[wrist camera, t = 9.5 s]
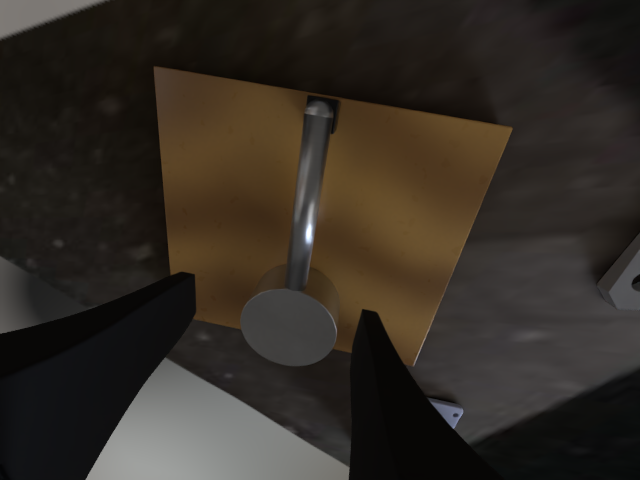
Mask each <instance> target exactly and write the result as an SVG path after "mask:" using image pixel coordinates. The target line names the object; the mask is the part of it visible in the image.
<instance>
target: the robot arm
mask: <svg viewBox="0 0 640 480" xmlns="http://www.w3.org/2000/svg"><path fill="white" fill-rule="evenodd" d="M195 314H196V287H195V274H192V273H187V272H182V271H181V272H178V273H176V274H173V275H171V276H169V277H166V278H164V279H162V280H160V281H157V282H155V283H153V284H151V285H148V286H146V287H144V288H142V289H139V290H137V291H135V292H133V293H130V294H128V295H125V296H123V297H120V298H118V299H115V300H113V301H110V302H108V303H106V304H103V305H100V306H98V307H95V308H92V309H89V310H86V311H83V312H81V313H77V314H74V315H71V316H68V317H65V318H62V319H57V320H54V321H50V322H47V323H43V324H39V325H36V326H32V327H28V328H24V329H20V330H15V331H11V332H7V333H2V334H0V480H85V479H86V478H87V476H88V474H89V472H90V470H91V469H92V467H93V465H94V463H95V462H96V460H97V458H98V457H99V455H100V453H101V451H102V450H103V448H104V446H105V445H106V443H107V441H108V440H109V438H110V436H111V434H112V433H113V431H114V430H115V428H116V427H117V425H118V423H119V421H120V420H121V418H122V416H123V415H124V413H125V412H126V410H127V409H128V407H129V406H130V404H131V403H132V401H133V400H134V398H135V397H136V395H137V394H138V392H139V390H140V389H141V388H142V386H143V384H144V383H145V382H146V381H147V379H148V378H149V377H150V376H151V374H152V373H153V372H154V370H155V369H156V368H157V367H158V365H159V364H160V363H161V362H162V360H163V359H164V358H165V357H166V355H167V354H168V353H169V352H170V350H171V349H172V348H173V347H174V345H175V344H176V343H177V341H178V340H179V339H180V338H181V336H182V335H183V334H184V332H185V331H186V329H187V327H188V326H189V324H190V322H191V321H192V319H193V317H194V315H195ZM350 382H351V418H352V438H351V455H350V470H349V471H350V472H349V480H505V479H504V478H503V477H502V476H500V475H499V474H498V473H497V472H496V471H495V470H494V469H493V468H492V467H491V466H490V465H489V464H488V463H487V462H485V461H484V460H483V459H482V458H481V457H480V456H479V455H478V454H477V453H476V452H475V451H474V450H473V449H472V448H471V447H470V446H469V445H468V444H467V443H466V442H465V441H464V440H463V439H462V438H461V437H460V436H459V434H458V433H457V432H456V431H455V430H454V427H455V425H456V424H457V422H458V420H459V418H460V417H461V415H462V413H463V408H462V406H461V405H459V404H455V403H450V402H446V401H441V400H437V399H432V398H428V397H426V396H425V394H424V393H423V392H422V390H421V389H420V387H419V386H418V385H417V383H416V382H415V380H414V379H413V377H412V376H411V374H410V373H409V371H408V369H407V368H406V366H405V365H404V363H403V361H402V360H401V358H400V356H399V354H398V353H397V351H396V349H395V347H394V345H393V343H392V342H391V340H390V338H389V336H388V334H387V332H386V330H385V327H384V325H383V323H382V321H381V319H380V316H379V314H378V313H377V312H376V311H371V310H366V309H362V311H361V315H360V319H359V322H358V326H357V330H356V333H355V337H354V341H353V344H352V353H351V365H350Z"/></svg>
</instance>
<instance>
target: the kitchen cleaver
mask: <svg viewBox="0 0 640 480" xmlns="http://www.w3.org/2000/svg"><path fill="white" fill-rule="evenodd" d="M639 274H640V233H639V234H638V235H637V237H636V238H635V239H634V240H633V241H632V242H631V244H630V245H629V246H628V247H627V248H626V250H625V251H624V252H623V253H622V254H621V256H620V257H619V258H618V259H617V260H616V262H615V263H614V264H613V265H612V266H611V268H610V269H609V270H608V271H607V272H606V274H605V275H604V276H603V277H602V278H601V280H600V281H599V282H598V283H597V286H598V288H599V290H600V292H601V294H602V296H603V298H604V300H605V301H606V302H608V303H609V304H610V305H612V306H613V307H615V308H616V309H618V310H640V282H638V283H636V284H633V285H631V284H632V281H633V279H634V278H635V277H636V276H637V275H639Z"/></svg>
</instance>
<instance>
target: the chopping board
mask: <svg viewBox="0 0 640 480" xmlns="http://www.w3.org/2000/svg"><path fill="white" fill-rule="evenodd" d="M154 79H155V91H156V104H157V116H158V128H159V140H160V152H161V164H162V176H163V189H164V201H165V213H166V225H167V237H168V249H169V261H170V274H171V275H173V274H176V273H178V272H181V271H182V272H187V273H192V274H195V287H196V314H195V315H194V317H193V319H195V320H200V321H205V322H209V323H214V324H219V325H223V326H228V327H233V328H237V329H241V323H240V319H241V313H242V310H243V308H244V306H245V305H246V303H247V301H248V299H249V298H250V296H251V294H252V293H253V291H254V289H255V287H256V286H257V284H258V282H259V281H260V279H261V278H262V276H263V275H264V274H265V273H266V272H268V271H269V270H271V269H273V268H275V267H277V266H280V265H284V264H287V255H288V247H289V238H290V230H291V221H292V213H293V204H294V196H295V187H296V179H297V171H298V162H299V154H300V145H301V137H302V128H303V120H304V112H305V109H306V102H307V96H308V95H312V96H318V97H323V98H329V99H335V100H339V101H341V106H340V112H339V118H338V124H337V130H336V132H335V133H334V134H331V135H330V141H329V147H328V153H327V160H326V166H325V172H324V179H323V185H322V191H321V197H320V204H319V210H318V216H317V223H316V229H315V235H314V241H313V248H312V254H311V260H310V267H312V268H314V269H316V270H318V271H320V272H321V273H323V274H324V275H325V276H326V277H328V278H329V279H330V281H331V282H332V283H333V284H334V286H335V288H336V290H337V292H338V295H339V299H340V309H339V318H338V328H337V337H336V342H335V345H334V347H333V349H335V350H340V351H344V352H349V353H352V344H353V341H354V337H355V333H356V330H357V326H358V322H359V319H360V315H361V311H362V309H366V310H371V311H376V312H377V313H378V314H379V316H380V319H381V321H382V323H383V325H384V327H385V330H386V332H387V334H388V336H389V338H390V340H391V342H392V343H393V345H394V347H395V349H396V351H397V353H398V354H399V356H400V358H401V360H402V361H403V363H404V364H405V365H409V366H414V364H415V362H416V360H417V357H418V355H419V352H420V350H421V348H422V345H423V343H424V340H425V338H426V336H427V333H428V331H429V328H430V326H431V324H432V321H433V319H434V316H435V314H436V312H437V309H438V307H439V304H440V302H441V300H442V297H443V295H444V292H445V290H446V288H447V285H448V283H449V280H450V278H451V276H452V273H453V271H454V268H455V266H456V264H457V261H458V259H459V256H460V254H461V252H462V249H463V247H464V244H465V242H466V240H467V237H468V235H469V232H470V230H471V228H472V225H473V223H474V220H475V218H476V216H477V213H478V211H479V208H480V206H481V204H482V201H483V199H484V196H485V194H486V192H487V189H488V187H489V184H490V182H491V180H492V177H493V175H494V172H495V170H496V168H497V165H498V163H499V160H500V158H501V156H502V153H503V151H504V148H505V146H506V144H507V141H508V139H509V136H510V134H511V132H512V129H513V127H510V126H504V125H498V124H493V123H487V122H481V121H475V120H469V119H463V118H457V117H452V116H446V115H440V114H434V113H428V112H422V111H417V110H411V109H405V108H399V107H393V106H387V105H381V104H376V103H370V102H364V101H358V100H352V99H346V98H341V97H335V96H329V95H323V94H317V93H311V92H305V91H300V90H294V89H288V88H282V87H276V86H270V85H264V84H259V83H253V82H247V81H241V80H235V79H229V78H224V77H218V76H212V75H206V74H200V73H194V72H188V71H183V70H177V69H171V68H165V67H159V66H154Z"/></svg>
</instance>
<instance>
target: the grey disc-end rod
mask: <svg viewBox="0 0 640 480" xmlns="http://www.w3.org/2000/svg"><path fill="white" fill-rule="evenodd" d="M340 106H341V101H339V100H335V99H329V98H323V97H318V96H312V95H308V96H307V102H306V109H305V112H304V120H303V128H302V137H301V145H300V154H299V162H298V171H297V179H296V187H295V196H294V204H293V213H292V221H291V230H290V238H289V247H288V255H287V264H284V265H280V266H277V267H275V268H273V269H271V270H269V271H268V272H266V273H265V274H264V275H263V276H262V278H261V279H260V281H259V282H258V284H257V286H256V287H255V289H254V291H253V293H252V294H251V296H250V298H249V299H248V301H247V303H246V305H245V306H244V308H243V310H242V313H241V319H240V323H241V330H242V333H243V335H244V337H245V339H246V341H247V342H248V344H249V345H250V346H251V347H252V348H253V349H254V350H255V351H256V352H257V353H258V354H260V355H261V356H263V357H264V358H266V359H268V360H270V361H272V362H275V363H278V364H282V365H287V366H305V365H310V364H313V363H316V362H318V361H320V360H322V359H323V358H324V357H326V356H327V355H328V354H329V353H330V351H331V350H332V349H333V347H334V345H335V342H336V337H337V328H338V318H339V309H340V299H339V295H338V292H337V290H336V288H335V286H334V284H333V283H332V282H331V281H330V279H329V278H328V277H326V276H325V275H324V274H323V273H321V272H320V271H318V270H316V269H314V268H312V267H310V260H311V254H312V248H313V241H314V235H315V229H316V223H317V216H318V210H319V204H320V197H321V191H322V185H323V179H324V172H325V166H326V160H327V153H328V147H329V141H330V135H331V134H334V133H335V132H336V130H337V124H338V118H339V112H340Z"/></svg>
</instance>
